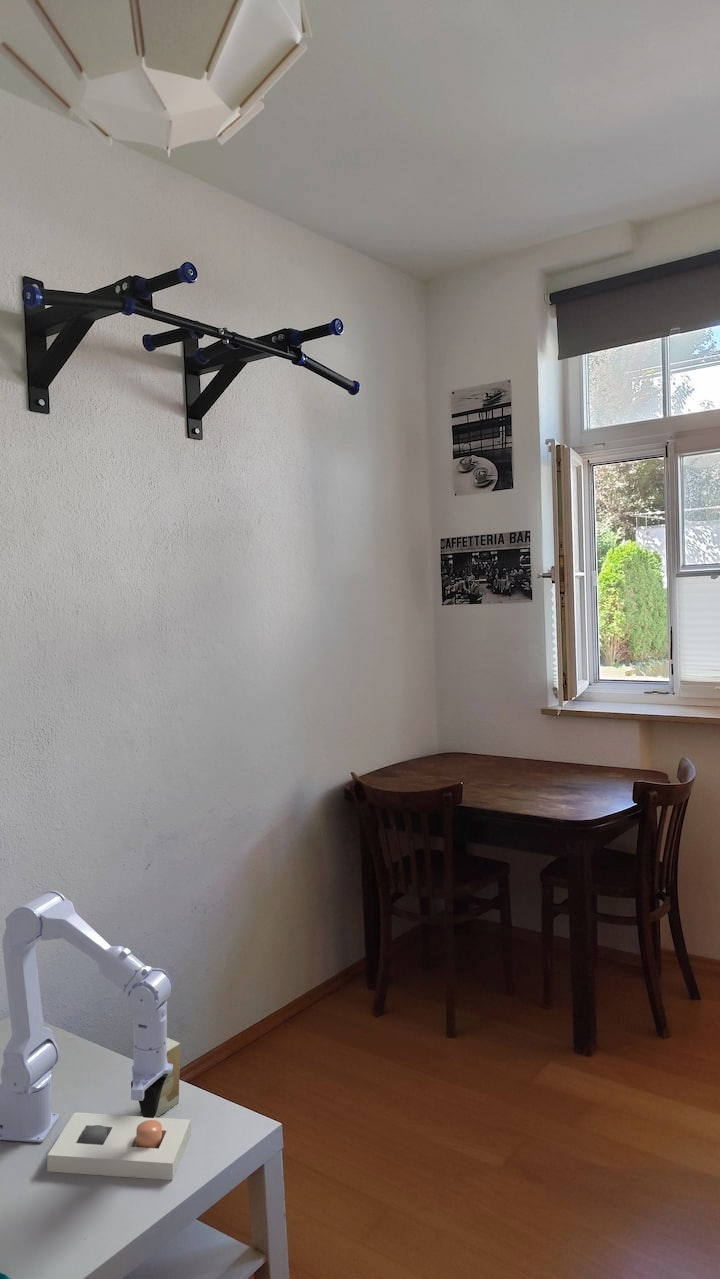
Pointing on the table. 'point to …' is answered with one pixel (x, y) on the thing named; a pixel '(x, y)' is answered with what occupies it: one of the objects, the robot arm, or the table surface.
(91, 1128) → the grey rounded piece
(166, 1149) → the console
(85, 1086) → the table surface
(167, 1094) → the skincare box
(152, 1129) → the terracotta button
